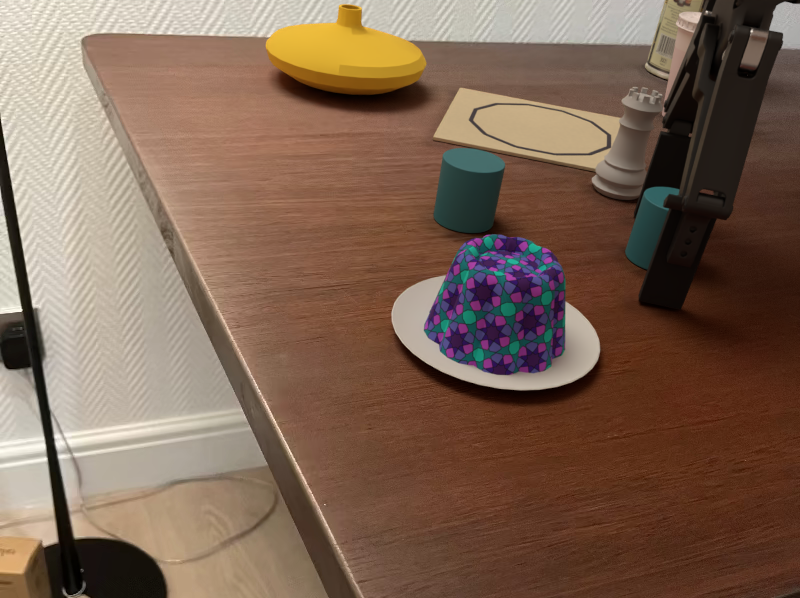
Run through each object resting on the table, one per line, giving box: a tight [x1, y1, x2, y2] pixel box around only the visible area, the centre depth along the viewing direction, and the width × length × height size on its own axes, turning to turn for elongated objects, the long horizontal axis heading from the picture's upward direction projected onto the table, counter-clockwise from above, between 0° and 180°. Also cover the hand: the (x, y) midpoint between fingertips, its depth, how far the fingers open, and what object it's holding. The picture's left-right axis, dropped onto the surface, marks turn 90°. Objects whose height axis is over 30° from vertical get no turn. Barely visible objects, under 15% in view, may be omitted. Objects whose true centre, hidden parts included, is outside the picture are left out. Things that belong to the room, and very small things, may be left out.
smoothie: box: [661, 12, 702, 118], centre depth 81 cm, size 6×6×14 cm
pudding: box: [391, 233, 601, 391], centre depth 45 cm, size 12×12×5 cm
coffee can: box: [644, 0, 706, 81], centre depth 96 cm, size 10×10×14 cm
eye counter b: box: [624, 187, 680, 271], centre depth 56 cm, size 4×4×4 cm
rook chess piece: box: [591, 86, 663, 201], centre depth 65 cm, size 4×4×8 cm
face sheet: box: [432, 87, 622, 173], centre depth 77 cm, size 18×16×1 cm
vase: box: [265, 3, 428, 96], centre depth 79 cm, size 16×16×7 cm
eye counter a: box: [433, 147, 506, 234], centre depth 57 cm, size 4×4×4 cm
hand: (654, 257), depth 57 cm, fingers open, 13 cm apart
